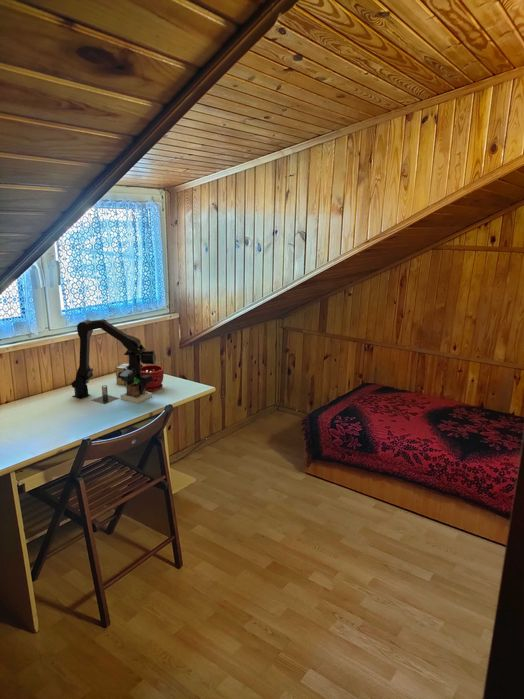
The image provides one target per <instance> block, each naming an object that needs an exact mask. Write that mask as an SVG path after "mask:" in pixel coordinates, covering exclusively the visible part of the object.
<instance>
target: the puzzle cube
mask: <svg viewBox="0 0 524 699" xmlns="http://www.w3.org/2000/svg"><path fill="white" fill-rule="evenodd" d="M127 366H129V363H122V364H120V365H118V366H117V367H116V368H115V376H116V377H115V378H116V385H118V386H123V387H124V386H125V387H126V386H127V383H126V382H125V381H122V380H121V378H118V374H119V372H122V371H125V370H127ZM135 382H137V383H138V382H139V379H135V378H134V382H133V383H135Z"/></svg>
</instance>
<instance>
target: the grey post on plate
mask: <svg viewBox="0 0 524 699" xmlns="http://www.w3.org/2000/svg"><path fill="white" fill-rule="evenodd" d="M101 394H102V395H101V396H98V397H95V398H93V399H91V400H90V401H91V402H93V403H99V404H103V405H107V404H109V403H112V402H114V401H117V400H121V397H116V396H113V395H109V393H108V385H105V384H103V385H102V386H101Z"/></svg>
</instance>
